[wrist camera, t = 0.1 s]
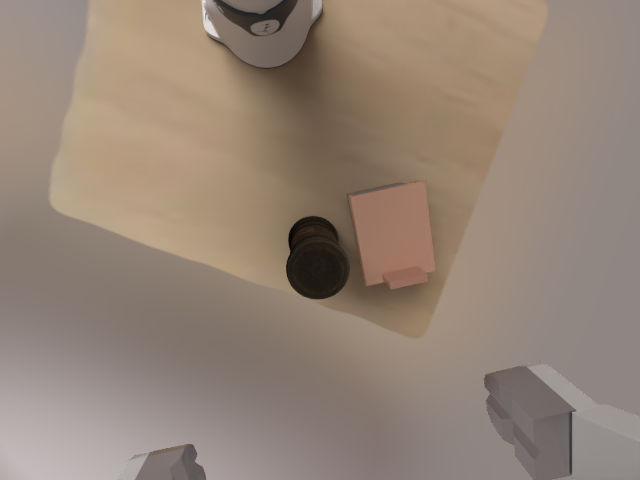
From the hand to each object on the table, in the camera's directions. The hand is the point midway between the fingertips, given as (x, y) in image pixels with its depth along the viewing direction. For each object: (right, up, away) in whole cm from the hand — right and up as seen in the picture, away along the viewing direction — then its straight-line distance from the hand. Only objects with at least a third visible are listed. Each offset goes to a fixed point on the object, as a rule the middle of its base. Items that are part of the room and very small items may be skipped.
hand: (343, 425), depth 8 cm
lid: (+11, +6, +42) cm, 44 cm away
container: (-2, +5, +48) cm, 48 cm away
